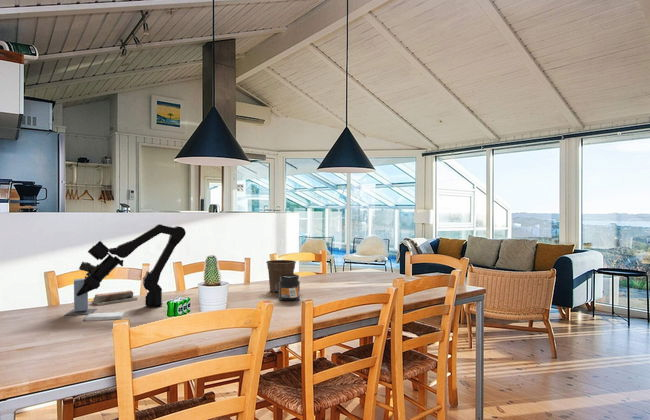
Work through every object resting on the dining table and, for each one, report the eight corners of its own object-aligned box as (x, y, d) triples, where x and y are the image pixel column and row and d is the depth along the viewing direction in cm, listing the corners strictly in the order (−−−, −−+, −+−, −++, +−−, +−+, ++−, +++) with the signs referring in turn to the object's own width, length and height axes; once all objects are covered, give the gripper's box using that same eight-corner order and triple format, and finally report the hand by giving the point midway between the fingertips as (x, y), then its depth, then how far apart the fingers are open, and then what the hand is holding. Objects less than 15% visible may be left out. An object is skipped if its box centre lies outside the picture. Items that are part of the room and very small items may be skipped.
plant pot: (284, 286, 255) (284, 258, 255) (301, 291, 243) (301, 261, 243) (260, 290, 245) (260, 261, 245) (277, 294, 232) (277, 263, 232)
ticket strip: (125, 314, 188) (125, 311, 188) (121, 318, 182) (121, 315, 182) (89, 316, 185) (89, 313, 185) (83, 320, 179) (83, 317, 179)
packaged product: (99, 296, 206) (91, 293, 213) (99, 306, 206) (91, 303, 213) (138, 291, 219) (129, 288, 226) (138, 300, 219) (129, 298, 226)
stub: (88, 307, 196) (87, 278, 196) (87, 310, 191) (87, 280, 191) (75, 308, 194) (74, 279, 193) (74, 311, 189) (73, 281, 189)
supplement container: (295, 302, 214) (295, 277, 214) (275, 300, 217) (275, 276, 217) (302, 298, 224) (303, 274, 224) (283, 296, 227) (283, 273, 227)
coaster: (96, 309, 198) (96, 308, 198) (90, 314, 189) (90, 313, 189) (72, 310, 196) (72, 309, 196) (64, 315, 186) (64, 314, 186)
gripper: (91, 253, 202) (63, 279, 198) (90, 257, 186) (60, 285, 181) (110, 269, 206) (84, 295, 201) (111, 274, 189) (82, 303, 184)
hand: (77, 294), depth 192 cm, fingers closed on stub, 5 cm apart
